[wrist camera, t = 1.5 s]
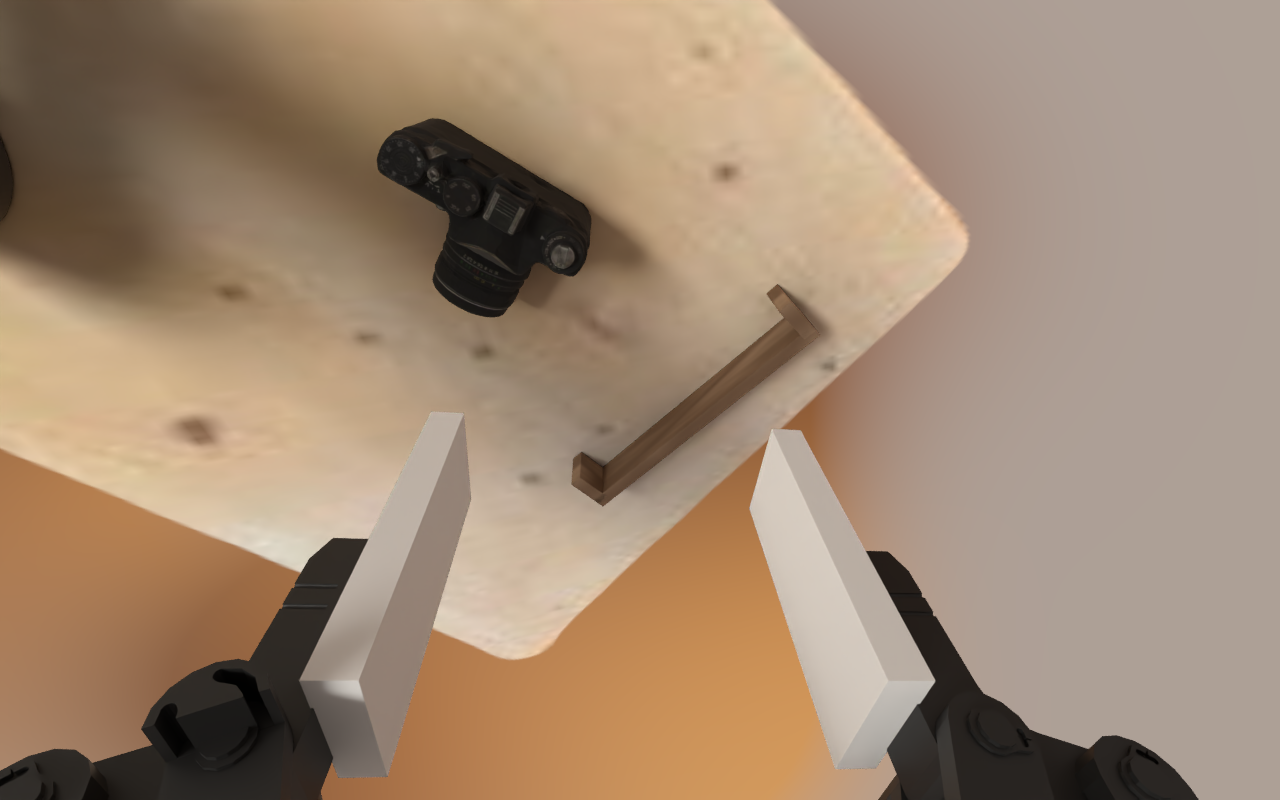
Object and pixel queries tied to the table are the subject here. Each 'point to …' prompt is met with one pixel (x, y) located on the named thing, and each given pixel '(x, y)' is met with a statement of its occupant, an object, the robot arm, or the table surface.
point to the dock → (699, 405)
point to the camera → (486, 215)
